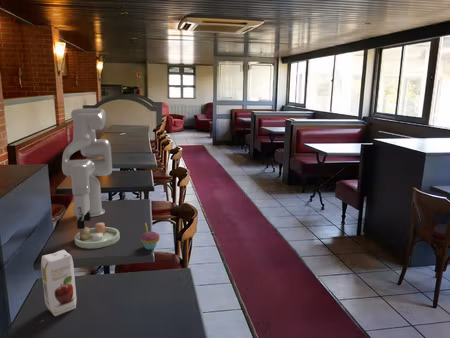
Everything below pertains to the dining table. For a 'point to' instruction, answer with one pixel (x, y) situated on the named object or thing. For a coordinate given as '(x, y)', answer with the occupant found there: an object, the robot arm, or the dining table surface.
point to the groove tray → (98, 238)
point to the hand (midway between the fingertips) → (84, 224)
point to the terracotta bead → (100, 228)
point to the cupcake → (149, 239)
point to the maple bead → (84, 234)
